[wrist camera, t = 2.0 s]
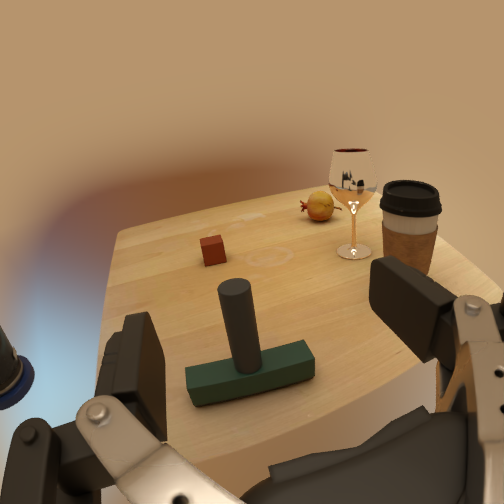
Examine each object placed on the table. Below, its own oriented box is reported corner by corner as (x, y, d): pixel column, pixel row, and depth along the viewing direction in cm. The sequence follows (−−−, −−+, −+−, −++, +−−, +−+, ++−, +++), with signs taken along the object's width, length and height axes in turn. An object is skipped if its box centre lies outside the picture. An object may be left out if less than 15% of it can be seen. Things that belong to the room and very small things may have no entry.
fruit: (343, 191, 70) (302, 190, 74) (339, 191, 64) (295, 190, 68) (342, 220, 71) (302, 218, 75) (339, 223, 65) (295, 221, 69)
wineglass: (322, 251, 55) (316, 151, 48) (354, 239, 58) (351, 146, 51) (353, 266, 49) (350, 154, 41) (385, 252, 51) (385, 150, 44)
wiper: (195, 411, 27) (157, 312, 22) (193, 389, 29) (159, 292, 24) (314, 381, 28) (313, 277, 23) (304, 362, 31) (299, 262, 26)
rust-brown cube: (205, 266, 56) (201, 246, 54) (203, 257, 59) (199, 238, 58) (226, 262, 56) (223, 241, 55) (223, 253, 60) (220, 234, 58)
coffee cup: (425, 276, 42) (434, 180, 36) (435, 308, 35) (451, 196, 29) (374, 275, 45) (377, 179, 39) (376, 307, 38) (382, 194, 32)
